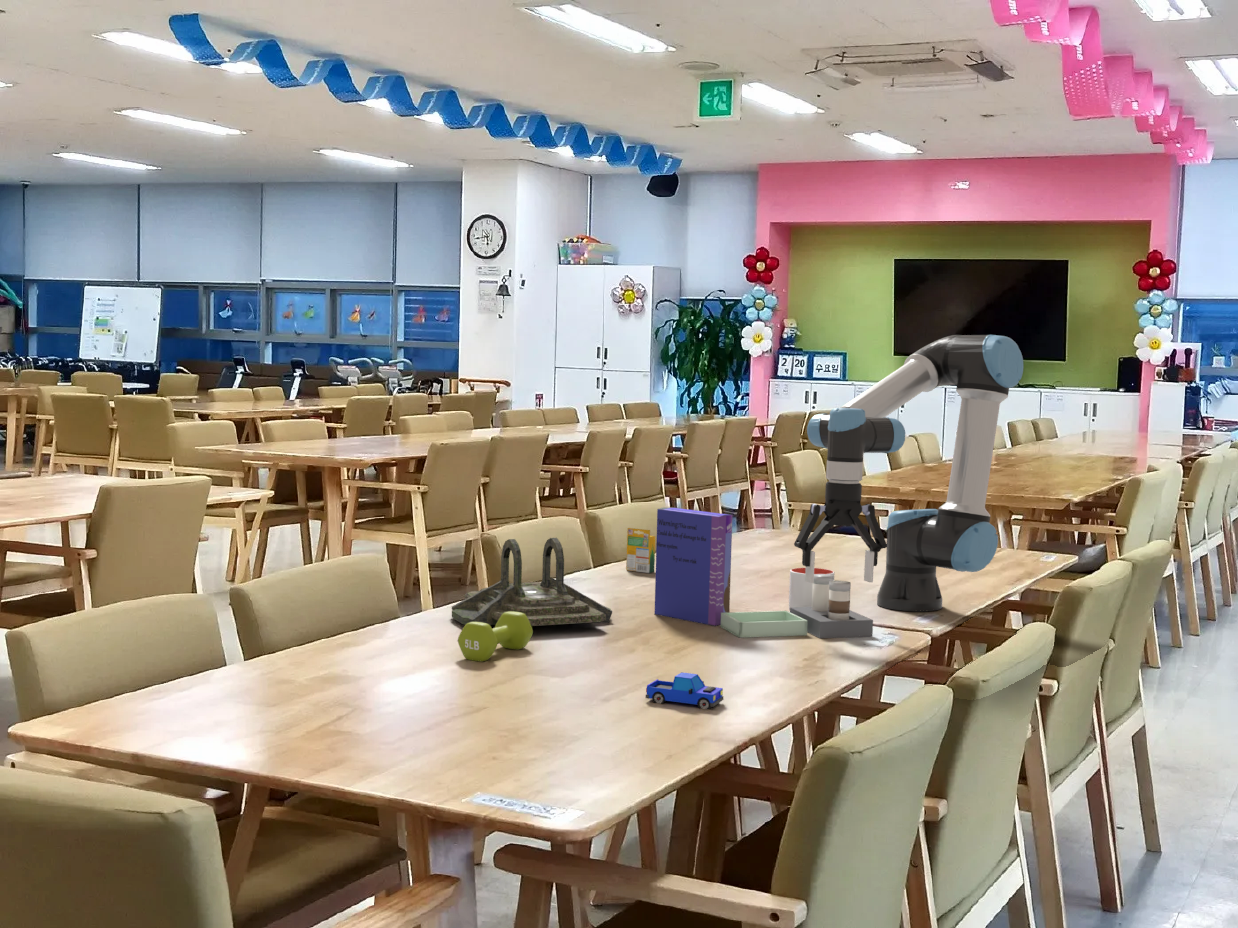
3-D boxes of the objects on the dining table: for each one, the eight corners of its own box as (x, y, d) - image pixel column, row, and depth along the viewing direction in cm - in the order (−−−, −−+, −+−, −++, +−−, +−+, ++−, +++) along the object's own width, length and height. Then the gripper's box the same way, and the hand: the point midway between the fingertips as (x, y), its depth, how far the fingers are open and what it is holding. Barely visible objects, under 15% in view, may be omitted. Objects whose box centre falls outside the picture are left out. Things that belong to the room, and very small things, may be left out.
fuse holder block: (839, 621, 305) (841, 572, 305) (872, 636, 290) (874, 584, 289) (789, 623, 302) (791, 573, 301) (819, 638, 287) (821, 585, 286)
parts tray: (786, 624, 300) (786, 610, 300) (807, 635, 290) (807, 620, 289) (720, 626, 296) (720, 612, 296) (739, 637, 285) (739, 622, 285)
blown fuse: (843, 631, 295) (845, 580, 294) (852, 635, 291) (854, 583, 290) (824, 631, 294) (826, 580, 293) (832, 635, 290) (834, 584, 289)
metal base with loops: (433, 610, 309) (434, 530, 307) (573, 602, 322) (575, 526, 320) (481, 642, 277) (483, 552, 275) (635, 632, 290) (637, 547, 289)
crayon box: (654, 572, 368) (656, 529, 367) (649, 573, 365) (650, 530, 365) (631, 569, 372) (632, 526, 371) (625, 570, 369) (626, 527, 368)
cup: (831, 620, 307) (833, 575, 307) (786, 617, 309) (788, 573, 309) (833, 611, 317) (835, 568, 316) (790, 609, 319) (791, 566, 318)
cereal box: (729, 623, 300) (732, 514, 298) (715, 626, 297) (718, 515, 295) (668, 611, 312) (671, 506, 310) (654, 614, 308) (657, 507, 306)
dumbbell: (488, 665, 256) (489, 626, 255) (453, 659, 260) (454, 621, 259) (536, 649, 270) (536, 613, 270) (502, 644, 274) (502, 608, 273)
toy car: (711, 713, 226) (712, 683, 226) (643, 704, 231) (644, 675, 230) (724, 704, 232) (725, 675, 232) (657, 695, 237) (658, 667, 236)
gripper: (889, 480, 297) (884, 578, 298) (781, 479, 290) (777, 579, 291) (906, 483, 290) (900, 583, 291) (796, 482, 283) (791, 584, 284)
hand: (838, 581), depth 291 cm, fingers open, 13 cm apart
